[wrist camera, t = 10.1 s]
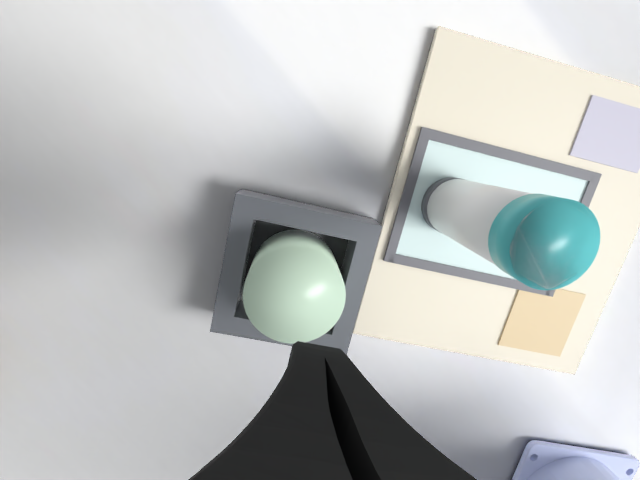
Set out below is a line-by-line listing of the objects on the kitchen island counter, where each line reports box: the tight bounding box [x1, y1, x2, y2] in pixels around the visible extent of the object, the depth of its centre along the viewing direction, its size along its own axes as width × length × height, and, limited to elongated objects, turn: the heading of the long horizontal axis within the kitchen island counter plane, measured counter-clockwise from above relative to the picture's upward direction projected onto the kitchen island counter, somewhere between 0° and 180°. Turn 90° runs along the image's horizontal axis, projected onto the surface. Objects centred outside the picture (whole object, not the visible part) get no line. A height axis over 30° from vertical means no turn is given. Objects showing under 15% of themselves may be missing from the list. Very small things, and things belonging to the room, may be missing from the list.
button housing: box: [210, 189, 382, 355], centre depth 19 cm, size 7×7×2 cm
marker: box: [421, 177, 600, 290], centre depth 15 cm, size 3×3×8 cm
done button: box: [243, 230, 346, 344], centre depth 17 cm, size 4×4×4 cm
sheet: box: [353, 26, 640, 375], centre depth 20 cm, size 16×14×1 cm
